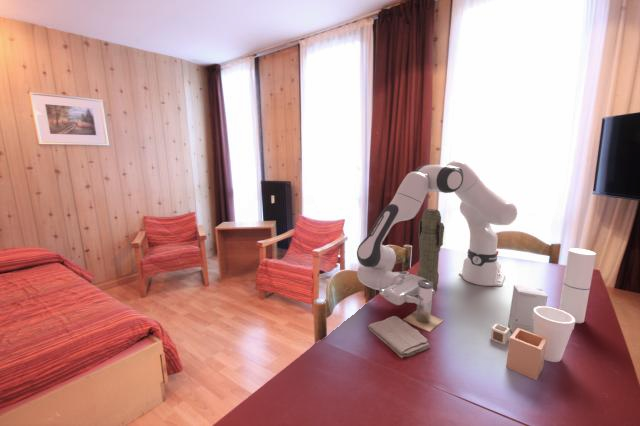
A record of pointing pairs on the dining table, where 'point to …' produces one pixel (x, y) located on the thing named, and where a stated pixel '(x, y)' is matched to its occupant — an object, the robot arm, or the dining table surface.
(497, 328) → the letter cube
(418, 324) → the cork coaster
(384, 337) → the washcloth
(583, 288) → the cylindrical container
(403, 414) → the dining table surface
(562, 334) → the foam cup
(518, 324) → the skincare box
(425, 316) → the tin canister
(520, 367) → the terracotta planter
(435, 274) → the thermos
